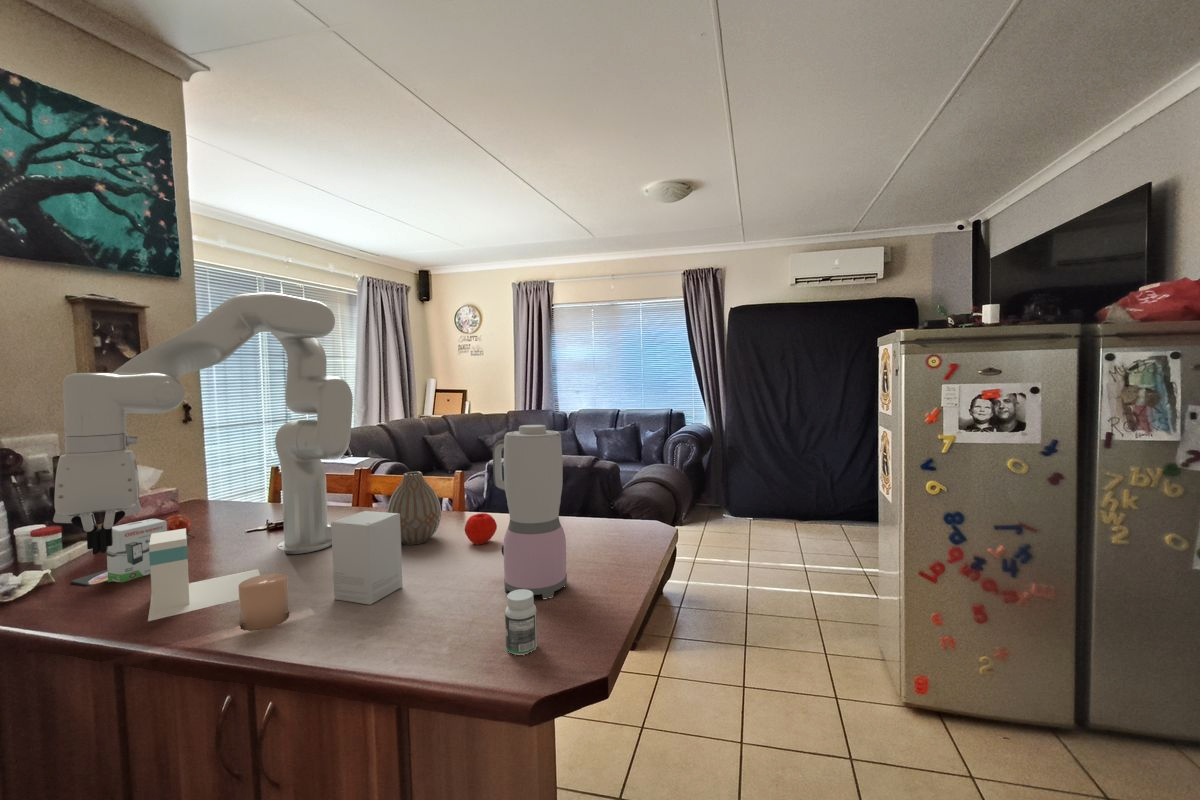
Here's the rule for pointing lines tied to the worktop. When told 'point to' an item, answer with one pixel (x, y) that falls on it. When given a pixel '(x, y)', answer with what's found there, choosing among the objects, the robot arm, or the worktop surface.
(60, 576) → the worktop surface
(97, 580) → the smartphone
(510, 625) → the pill bottle
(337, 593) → the supplement box
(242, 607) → the beige pillar candle
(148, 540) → the ink box
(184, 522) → the pomegranate
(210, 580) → the white flat sheet
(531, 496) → the blender
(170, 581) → the carton
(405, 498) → the vase
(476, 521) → the apple
